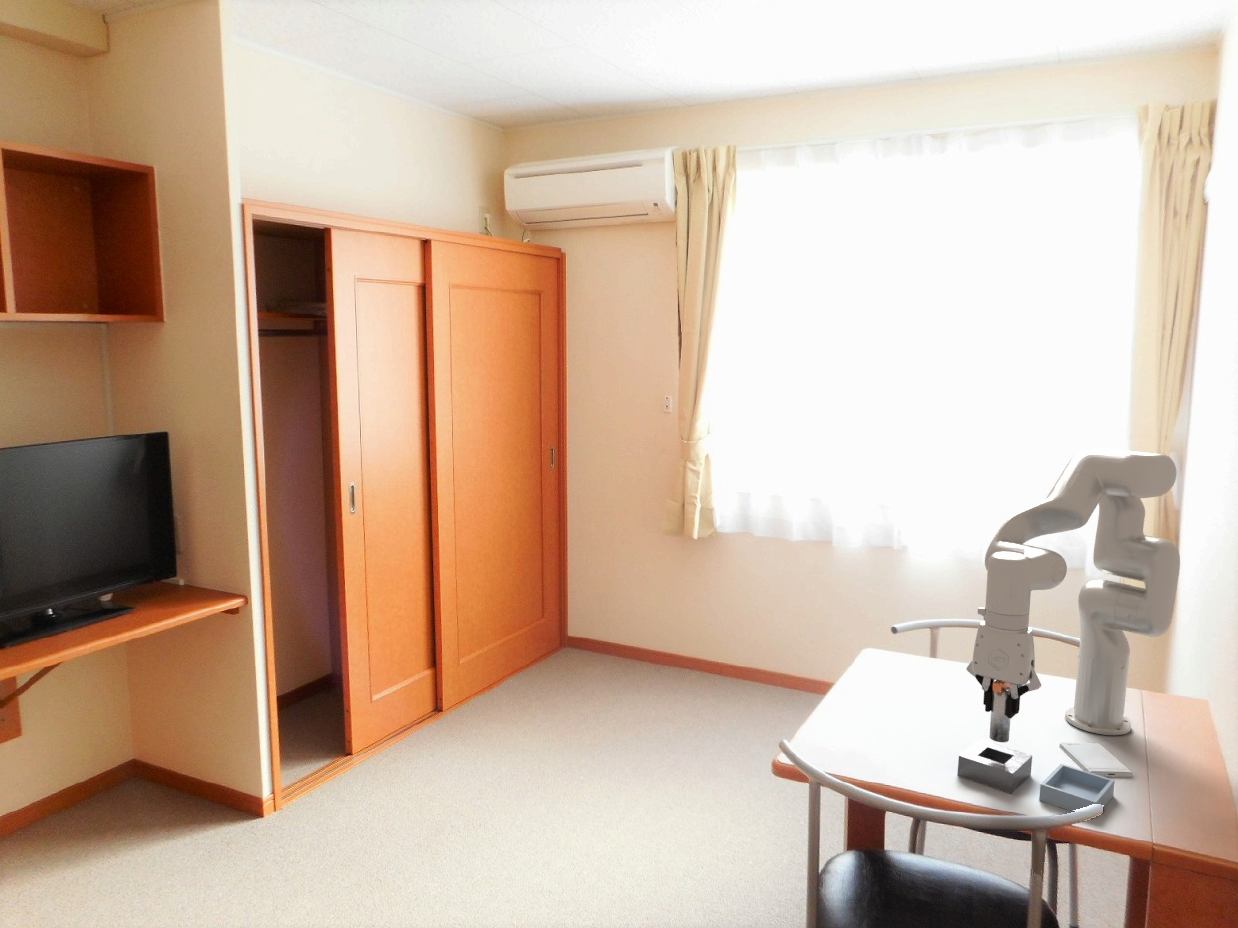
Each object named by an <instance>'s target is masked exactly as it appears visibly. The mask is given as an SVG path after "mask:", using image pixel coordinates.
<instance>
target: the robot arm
mask: <svg viewBox="0 0 1238 928" xmlns="http://www.w3.org/2000/svg"><path fill="white" fill-rule="evenodd" d="M1176 480H1177V466H1176V464H1175V462H1174V460H1173V459H1172V457H1170V456H1169V455H1166V454H1163V453H1155V452H1147V451H1136V450H1128V449H1120V448H1110V447H1109V448H1105V447H1103V448H1102V447H1101V448H1093V449H1089V450H1086V449H1085V450H1081V451H1079V452H1077V453H1075V454H1073V456H1072V457H1071V459H1070V460H1069V461H1068V462H1067V464H1066V466H1065V467H1064V469H1063V471H1062V472H1061V474H1060V475H1059V477H1058V479H1056V482H1054V483H1055V484H1054V485H1053V487H1052V488H1051V489H1050V491H1049V493H1048V494H1047V495H1046V498H1045V499H1044V500H1043V501H1040V502H1037V503H1036V504H1033V505H1031V506H1028V507H1027V508H1025V509H1023V510H1021V511H1019V512H1018V513H1016V514H1014V515H1013V516H1011V517H1009V519H1007V520H1006V521H1005V522H1003V524H1002V525H1001V526H1000V528H999V529H998V531H997V533H996V534H995V535H994V537H993V539H992V540H991V541H990V543H989V546H988V548H987V550H986V553H985V556H984V566H985V570H986V572H987V574H986V575H987V576H986V592H985V606H984V607H978V609H977V615H979V616H980V615H981V616H982V617H983V620H982V621H981V622H979V624H978V628H977V631H976V632H977V633H976V636H975V641H974V647H973V651H972V652H973V653H972V660H971V662H970V663H969V664H968V665H967V666H966V671H967V672H968V673H969V674H970V675H972V677H975V679H976V681H977V682H978V683H979V685H980V686H981V689H982V691H983V705H984V706H985V707H984V711H985V712H987V713H989V712H990V713H991V705H992V688H993V682H995V681H996V680H998V681H1002V682H1006V683H1010V687H1011V696H1010V697H1009V698H1008V705H1007V717H1008V718H1010V719H1012V718H1014V716H1016V715H1018V714H1019V712H1020V703H1021V702H1020V701H1021V697H1022V696H1023V695H1025V694H1026V693H1028V692H1033V691H1036V690H1039V689H1040V688H1042V683H1041V680H1040V678H1039V677H1038V674H1037V673H1036V671H1035V667H1036V665H1035V664H1036V663H1035V662H1036V661H1035V659H1036V658H1035V644H1034V643H1035V642H1034V636H1033V631H1032V630H1033V629H1032V628H1031V627H1029V622H1030V621H1029V620H1030V607H1031V595H1032V593H1031V592H1032V591H1045V590H1052V589H1055V588H1056V587H1057V586H1059V585H1061V583H1063V581H1064V579H1065V578H1066V575H1067V571H1068V570H1067V569H1068V566H1067V562H1066V559H1065V558H1064V557H1063V556H1062V555H1061V554H1060V553H1058V552H1057V551H1053V550H1051V549H1047V548H1042V547H1037V546H1033V545H1029V544H1025V543H1026V542H1029V541H1031V540H1033V539H1035V538H1039V537H1040V536H1046V535H1051V534H1059V533H1062V532H1063V533H1065V532H1068V531H1074V530H1078V529H1080V528H1082V527H1084V526H1085V525H1086V524H1087V523H1088V522H1089V520H1090V518H1091V516H1092V514H1093V513H1094V511H1095V509H1096V508H1097V506H1098V507H1099V509H1098V519H1097V526H1096V532H1095V539H1094V546H1093V553H1092V554H1093V564H1094V567H1095V568H1096V569H1097V570H1098V571H1099V572H1102V573H1104V574H1107V575H1111V576H1115V577H1120V578H1125V579H1129V580H1133V581H1139V582H1142V583H1144V585H1145V586H1144V587H1145V588H1144V587H1139V586H1134V585H1131V584H1126V583H1121V582H1117V581H1113V580H1108V579H1092V580H1089V581H1087V582H1086V583H1084V584H1083V585H1082V587H1081V588H1080V590H1079V593H1078V599H1077V601H1078V602H1077V603H1078V613H1079V621H1080V622H1079V623H1080V626H1079V627H1080V633H1079V636H1080V637H1079V649H1078V661H1077V669H1076V681H1075V682H1076V684H1075V690H1074V691H1075V693H1074V704H1073V707H1071V708H1068V709H1067V710H1066V711H1065V715H1064V717H1065V720H1066V721H1067V722H1068V723H1069V724H1070V725H1072V726H1073V727H1076V728H1078V729H1080V730H1083V731H1085V732H1089V733H1093V734H1098V735H1104V736H1105V735H1106V736H1122V735H1126V734H1128V733H1129V732H1131V730H1132V724H1131V722H1130V720H1128V719H1127V718H1126V717H1125V715H1124V714H1125V704H1126V696H1127V695H1126V694H1127V685H1128V684H1127V683H1128V675H1129V666H1130V665H1129V662H1130V655H1131V651H1130V650H1131V649H1130V644H1129V641H1128V638H1127V637H1126V635H1125V632H1128V633H1133V634H1135V635H1136V634H1137V635H1139V636H1143V637H1150V638H1159V637H1162V636H1164V635H1165V634H1167V632H1168V631H1169V629H1170V626H1171V624H1172V621H1173V615H1174V614H1173V613H1174V610H1175V609H1174V608H1175V603H1176V602H1175V601H1176V596H1177V589H1178V582H1179V576H1180V569H1181V556H1180V552H1179V549H1178V547H1177V546H1176V545H1175V543H1174V542H1172V541H1170V540H1169V539H1165V538H1162V537H1157V536H1156V537H1155V536H1150V535H1147V534H1146V535H1145V533H1144V524H1145V518H1146V508H1145V505H1144V502H1143V501H1142V499H1148V498H1149V499H1150V498H1156V497H1161V496H1164V495H1166V494H1167V493H1169V492H1170V491H1171V489H1172V488H1173V486H1174V485H1175V483H1176ZM1124 631H1125V632H1124ZM1028 682H1029V683H1028Z"/></svg>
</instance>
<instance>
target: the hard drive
mask: <svg viewBox="0 0 1238 928" xmlns="http://www.w3.org/2000/svg"><path fill="white" fill-rule="evenodd" d="M1058 747H1059V748H1060V749H1061V750H1062V751H1063V752H1064V753H1065V754H1066V755H1067V756H1068V757H1069V758H1070V759H1072V761H1074V763H1076V764H1077V765H1078V766H1079V767H1080V768H1081V770H1083V771H1086V772H1090V773H1093V774H1096V775H1099V776H1102V777H1119V778H1120V777H1123V778H1126V777H1127V778H1133V777H1134V773H1133V772H1132V771H1131V770H1130V769H1129V768H1128V767H1127V766H1126V765H1124V764H1123V763H1122V762H1121V761H1120V760H1119V759H1118V758H1116V756H1115V755H1113V754H1112V753H1110V752H1109V751H1108V749H1106V748H1105V747H1104V746H1103V745H1101V743H1097V742H1060V743H1059V746H1058Z"/></svg>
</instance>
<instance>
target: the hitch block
mask: <svg viewBox="0 0 1238 928" xmlns="http://www.w3.org/2000/svg"><path fill="white" fill-rule="evenodd" d="M1032 762H1033V755H1032V754H1028V753H1026V752H1023V751H1019V750H1017V749H1013V748H1009V747H1006V746H1002V745H1000V744H996V743H994V742H991V741H987V740H984V739H981V738H979V739H978V740H977V741H975V742H973V744H972V745H970V746H969V747H968V748H966V749H965V750H964V751H963V752H961V753H960V754H958V763H957V776H958V777H960V778H964V779H966V780H969V781H971V782H976V783H977V784H978V783H979V784H981V785H984V786H987V787H989V788H993V789H995V790H998V791H1002V792H1004V793H1007V794H1010V795H1012V794H1013V793H1014V792H1016V790H1017V789H1019V787H1020V786H1021V785H1022V784H1023V783H1024V782H1026V781H1027V780H1028V779H1029V778H1030V776H1031V775H1032Z"/></svg>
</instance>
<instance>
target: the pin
mask: <svg viewBox="0 0 1238 928" xmlns="http://www.w3.org/2000/svg"><path fill="white" fill-rule="evenodd" d="M1010 696H1011V687H1010V683H1006V682H1002V681H998V680H994V682H993V688H992V705H991V711H990V722H989V723H990V724H989V739H991V740H992V741H994V742H998V743H1008V742H1010V741H1009V740H1010V728H1011V718H1008V717H1007V705H1008V698H1009V697H1010Z"/></svg>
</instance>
